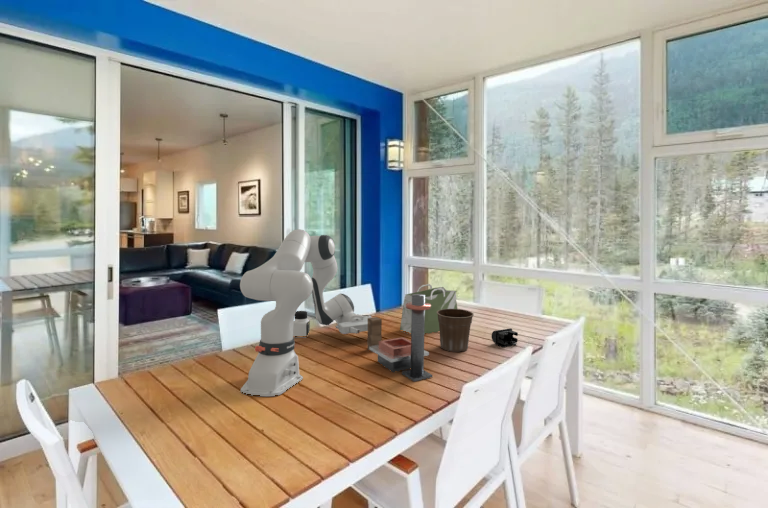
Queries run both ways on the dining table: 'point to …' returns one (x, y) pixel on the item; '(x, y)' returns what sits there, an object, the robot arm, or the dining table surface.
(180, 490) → the dining table surface
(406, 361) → the bracket
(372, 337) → the tall wooden post
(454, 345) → the plant pot
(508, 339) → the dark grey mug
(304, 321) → the medicine bottle
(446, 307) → the grocery bag
